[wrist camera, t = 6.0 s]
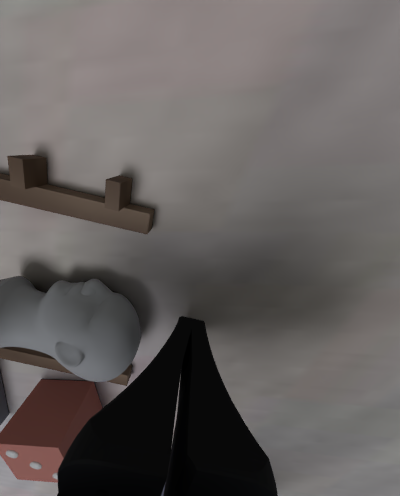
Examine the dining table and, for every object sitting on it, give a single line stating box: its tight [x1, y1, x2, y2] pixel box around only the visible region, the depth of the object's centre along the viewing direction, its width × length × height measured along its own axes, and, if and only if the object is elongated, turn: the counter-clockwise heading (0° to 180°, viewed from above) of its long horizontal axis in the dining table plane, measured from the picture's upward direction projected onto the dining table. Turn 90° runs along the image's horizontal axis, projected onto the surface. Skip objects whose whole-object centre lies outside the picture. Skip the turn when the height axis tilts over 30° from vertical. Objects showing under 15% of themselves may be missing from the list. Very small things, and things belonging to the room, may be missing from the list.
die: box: [0, 379, 102, 482], centre depth 16 cm, size 4×4×4 cm
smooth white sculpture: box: [0, 276, 141, 382], centre depth 12 cm, size 4×8×5 cm
